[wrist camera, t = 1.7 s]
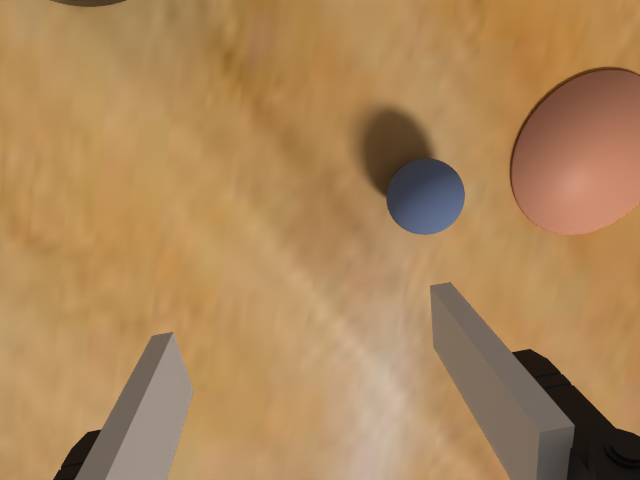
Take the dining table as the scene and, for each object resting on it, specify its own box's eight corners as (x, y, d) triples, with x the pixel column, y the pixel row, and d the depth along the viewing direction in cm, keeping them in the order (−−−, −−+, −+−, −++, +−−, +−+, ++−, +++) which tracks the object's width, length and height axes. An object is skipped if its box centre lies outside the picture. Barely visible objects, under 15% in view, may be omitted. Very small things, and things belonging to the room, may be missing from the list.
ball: (367, 175, 30) (384, 192, 25) (431, 139, 30) (461, 150, 25) (396, 232, 32) (417, 259, 27) (456, 200, 32) (489, 221, 27)
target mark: (489, 125, 30) (490, 125, 30) (652, 35, 28) (654, 35, 28) (537, 259, 34) (538, 260, 34) (680, 187, 33) (682, 188, 33)
